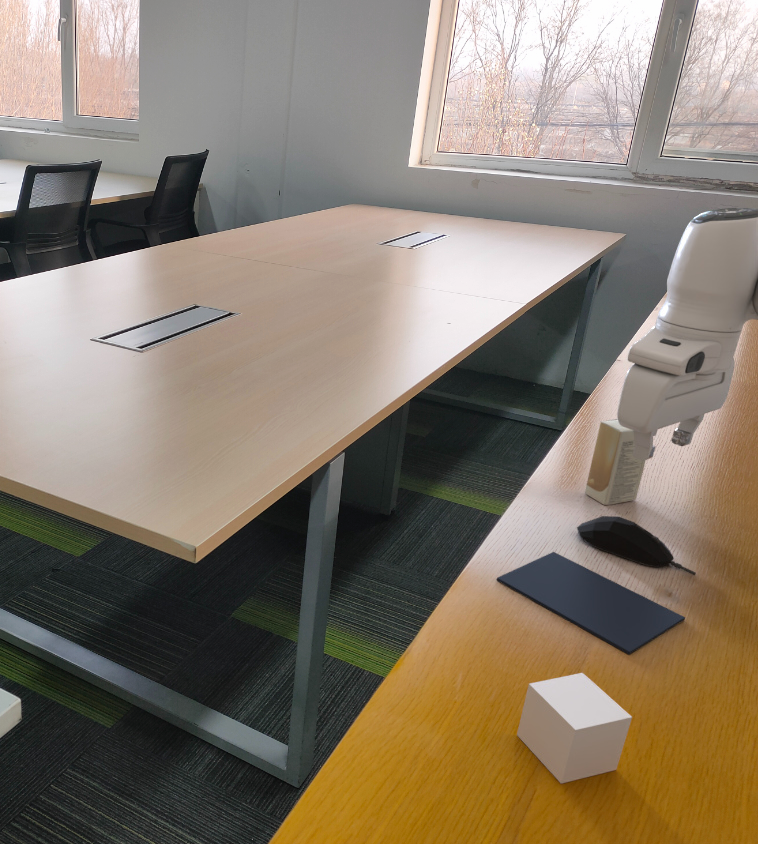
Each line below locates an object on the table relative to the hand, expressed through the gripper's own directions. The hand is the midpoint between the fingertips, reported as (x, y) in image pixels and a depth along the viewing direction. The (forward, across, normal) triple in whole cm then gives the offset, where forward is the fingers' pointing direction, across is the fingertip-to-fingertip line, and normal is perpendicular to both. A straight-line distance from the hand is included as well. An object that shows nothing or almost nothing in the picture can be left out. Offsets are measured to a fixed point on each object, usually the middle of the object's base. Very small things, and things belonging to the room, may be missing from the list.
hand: (661, 450), depth 102 cm
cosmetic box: (+15, -13, -11) cm, 23 cm away
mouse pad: (+15, +16, +3) cm, 22 cm away
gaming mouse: (+15, 0, 0) cm, 15 cm away
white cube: (+16, +41, +16) cm, 47 cm away
